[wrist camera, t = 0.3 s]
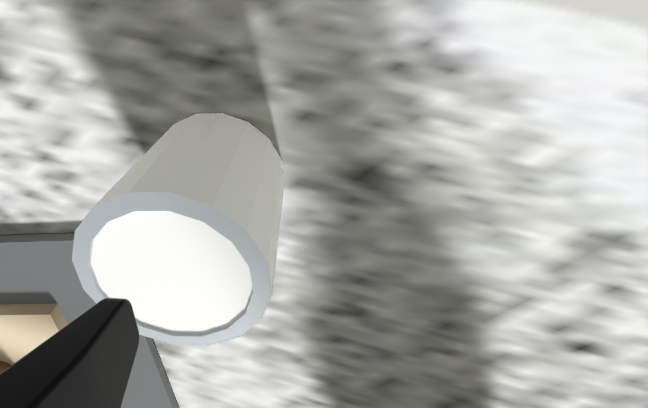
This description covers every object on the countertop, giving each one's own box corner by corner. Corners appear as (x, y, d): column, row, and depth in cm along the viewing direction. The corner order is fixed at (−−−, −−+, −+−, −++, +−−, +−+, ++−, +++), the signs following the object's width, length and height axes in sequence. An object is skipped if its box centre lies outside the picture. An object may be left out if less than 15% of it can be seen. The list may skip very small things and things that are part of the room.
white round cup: (217, 256, 28) (173, 372, 22) (110, 153, 25) (28, 255, 20) (330, 189, 25) (313, 301, 20) (224, 65, 23) (167, 153, 17)
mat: (197, 455, 38) (194, 463, 37) (-54, 449, 40) (-60, 457, 40) (111, 231, 28) (106, 239, 27) (-216, 242, 30) (-226, 249, 30)
